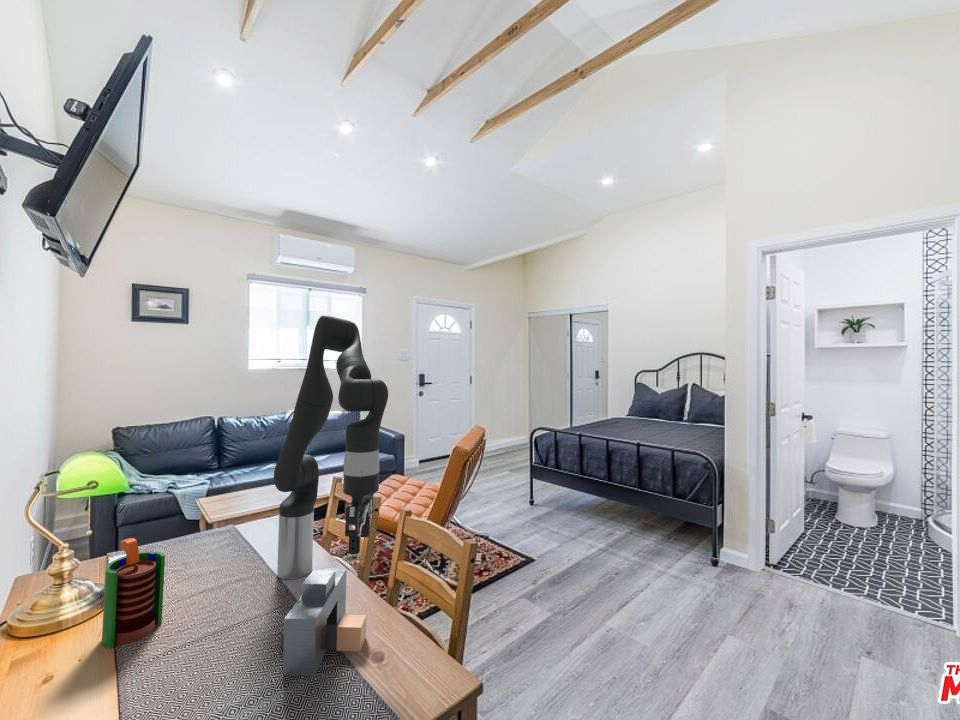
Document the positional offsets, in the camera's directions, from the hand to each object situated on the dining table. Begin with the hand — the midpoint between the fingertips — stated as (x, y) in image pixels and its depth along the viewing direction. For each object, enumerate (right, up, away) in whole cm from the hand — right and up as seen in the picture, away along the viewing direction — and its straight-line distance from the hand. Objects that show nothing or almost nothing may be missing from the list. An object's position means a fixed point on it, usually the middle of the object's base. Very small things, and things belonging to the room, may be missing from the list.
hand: (359, 544), depth 91 cm
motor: (-51, -20, +1) cm, 55 cm away
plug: (-7, -21, -1) cm, 22 cm away
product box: (-69, -20, +20) cm, 75 cm away
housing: (-9, -21, -1) cm, 23 cm away
